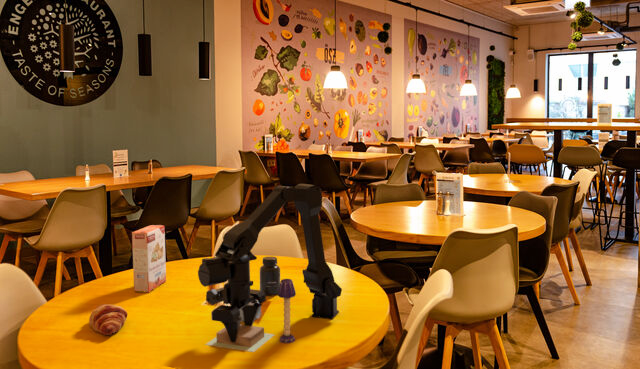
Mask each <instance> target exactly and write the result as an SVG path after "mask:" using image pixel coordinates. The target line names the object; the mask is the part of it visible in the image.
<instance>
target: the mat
mask: <svg viewBox="0 0 640 369" xmlns="http://www.w3.org/2000/svg"><path fill="white" fill-rule="evenodd" d="M275 335H276V334H273V333H267V332H264V337H263V338H262V339H261V340H260V341H258V342H257V343H256V344H255V345H253V346H252V347H246V346H239V345H232V344H226V343H219V342H217V336H215V337H214V338H213V339H211V340H210V341H208V342H207V343H205V344H204V345H206V346H212V347H219V348H226V349H231V350H232V349H233V350H237V351H245V352H250V353H251V352H252V353H254V352H256V351H257V350H258V349H260V348H261V347H262V346H263V345H264V344H265V343H266V342H268V341H269V340H270V339H272V338H273V337H274V336H275Z"/></svg>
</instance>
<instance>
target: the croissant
mask: <svg viewBox="0 0 640 369" xmlns="http://www.w3.org/2000/svg"><path fill="white" fill-rule="evenodd" d="M128 314H129V313H128V312H127V311H126V309H124V307H122V306H120V305H115V304H101V305H98V306H96V307H95V309H94V310H92V311H91V313H90V316H89V318H88V323H89V326H91V328H92V329H93V331H95V332H98V333H100V334H102V335H105V336H109V335H112V333H113V334H116V333H118V332H119V331H120V330H121V329H122V328H123V327H124V325H125V322H126V321H127V319H128ZM121 327H122V328H121ZM117 331H118V332H117ZM115 332H116V333H115Z"/></svg>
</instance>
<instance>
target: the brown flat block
mask: <svg viewBox="0 0 640 369" xmlns="http://www.w3.org/2000/svg"><path fill="white" fill-rule="evenodd" d="M264 333H265V327H264V326H263V327H262V326H256V325H255V326H254V325H252V326H248V325H245V324H241V323H240V327H239V331H238V335H237V339H236V342H231V340H230V338H229V335H228V333H227V330H226V328H225V327H223V328H222V329H220V330H219V331H216V337H217V342H219V343H226V344H232V345H239V346H246V347H252V346H253V345H255V344H256V343H257V342H258V341H260V340H261V339H262V338H263V337H264Z"/></svg>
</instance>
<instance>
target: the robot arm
mask: <svg viewBox="0 0 640 369" xmlns="http://www.w3.org/2000/svg"><path fill="white" fill-rule="evenodd" d="M287 202H293V204H294V207H295V209H296V210H297V212H298V213H299V215H300V216H301V217H300V218H301V223H302V229H303V234H304V235H303V236H304V241H305V248H306V254H307V262H308V264H307V265H306V268H305V269H303V270H302V275H303V276H302V277H303V283H304V284H305V286H306V287H307V288H308V290H309V293H311V294H313V298H312V299H311V304H312V305H311V306H312V308H311V312H312V314H311V317H312V318H320V319H329V320H333V319H334V318H335V317H336V316H337V315H338V314H339V313H340V311H339V310H338V298H339V297H341V295H342V291H343V289H342V287H341V286H340V285H338V283H336V281H335V278H334V273H333V272H332V271H333V270H332V268H331V267H330V266H329V264H328V263H327V261H326V257H325V251H324V250H325V249H324V244H323V243H324V242H323V237H322V230H321V229H322V227H321V223H320V215H319V214H320V211H321V208H322V206H323V193H322V189H321V188H320V187H319V186H318V185H315V184H307V183H298V184H297V185H295V186H286V185H285V186H284V185H276V186H275V187H274V188H273V189H272V191H271V193H270V194H268V196H267V197H266V198H265V199H264V200H263V201H262V202H261V203H260V204H259V205H258V206H257V207H256V208H255V210H253V212H252V213H250V214H249V216H248V217H247V218H246V219H244V220H243V221H242V222H240V223H238V224H236V225H234V226H233V227H231V228H230V229H228V230H227V231H226V232H225V233H224V235H223V237H222V241H221V243H220V245H219V247H218V248H217V250H216V252H215V254H214V257H209V258H208V257H206V258H202V259H201V263H200V265H199V266H198V267H199V268H198V270H197V276H198V280H199V282H200V284H201V286H202V287H204V288H205V287H209V286H214V285H219V284H223V283H224V285H223V287H220V288H216V289H215V288H212V289H209V290H206V295H205V297H206V298H205V300H206V302H207V303H208V304H210V305H211V306H214V305H216V304H219V303H222V302H223V303H222V304H220V305H219V306H217V307H216V308H214V309H213V310H212V311H211V312H210V313H211V321H213V322H221V323H222V324H223V326H224V328H226V330H227V333H228V335H229V338H230V340H231V342H236V339H237V335H238V331H239V327H240V324H241V323H242V321H241V320H242V318H239V316H240V309H242V311H243V316H244V321H243V323H244V324H243V325H248V326H254V325H253V324H254V323H255V318H256V316H257V314H258V311H259V309H260V307H261V308H262V306H263V303H264V302H265V301H266V299H267V298H266V297H267V296H266V295H265V293H264V292H263V291H262V290H260V289H254V288H253V289H251V287H252V286H253V285H254V281H253V280H251V269H250V268H251V267H250V266H251V263H250V262H252V261H255V260H257V259H258V257H257V256H256V255H255V254H253V252H252V249H253V248H254V247H255V245H256V243H257V242H258V238H259V235H260V233H261V231H262V230H263V229H264V228H265V227H266V226H267V224H269V222H270V221H271V220H272V219H273V218H274V217H275V216H276V214H278V212H280V210H281V209H282V208H283V207H284V206H285V204H286V203H287ZM231 252H232V253H231ZM256 300H258V302H259V303H257V301H256Z"/></svg>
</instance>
